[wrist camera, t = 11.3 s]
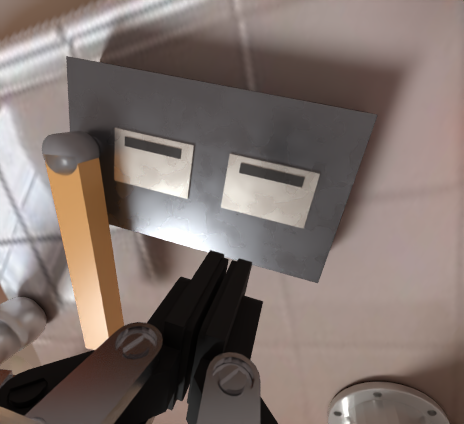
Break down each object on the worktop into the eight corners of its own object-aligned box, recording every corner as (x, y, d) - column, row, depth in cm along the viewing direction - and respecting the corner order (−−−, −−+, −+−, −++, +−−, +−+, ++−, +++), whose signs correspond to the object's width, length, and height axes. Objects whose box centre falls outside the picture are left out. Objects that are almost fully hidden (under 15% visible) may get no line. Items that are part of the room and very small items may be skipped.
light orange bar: (62, 129, 24) (38, 133, 22) (96, 131, 24) (73, 135, 21) (100, 330, 32) (85, 347, 30) (126, 335, 32) (112, 354, 29)
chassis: (366, 112, 23) (380, 115, 19) (316, 259, 29) (318, 288, 24) (99, 62, 27) (59, 55, 22) (100, 201, 32) (68, 216, 28)
